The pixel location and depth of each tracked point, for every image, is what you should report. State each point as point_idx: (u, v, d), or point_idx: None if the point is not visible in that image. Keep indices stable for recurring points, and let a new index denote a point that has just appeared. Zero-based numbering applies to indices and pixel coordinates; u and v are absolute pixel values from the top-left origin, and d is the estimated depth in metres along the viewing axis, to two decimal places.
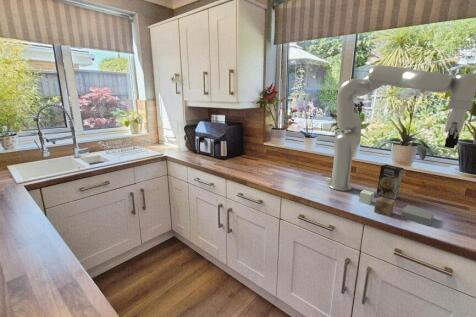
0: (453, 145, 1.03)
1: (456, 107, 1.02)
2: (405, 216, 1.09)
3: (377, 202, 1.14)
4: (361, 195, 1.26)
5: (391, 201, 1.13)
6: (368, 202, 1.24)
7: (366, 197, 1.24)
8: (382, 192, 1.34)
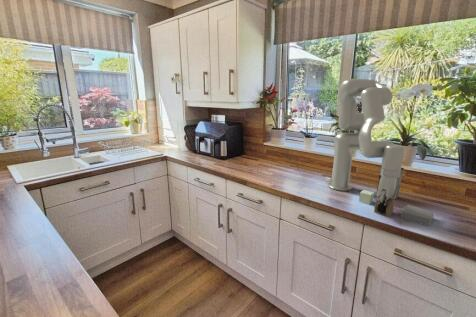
0: (384, 211, 1.12)
1: (385, 175, 1.09)
2: (405, 216, 1.09)
3: (377, 202, 1.14)
4: (361, 195, 1.26)
5: (391, 201, 1.13)
6: (368, 202, 1.24)
7: (366, 197, 1.24)
8: None
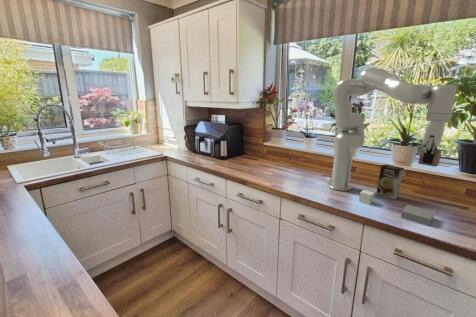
0: (431, 160, 1.01)
1: (433, 119, 0.98)
2: (405, 216, 1.09)
3: (422, 152, 1.03)
4: (361, 195, 1.26)
5: (438, 150, 1.02)
6: (368, 202, 1.24)
7: (366, 197, 1.24)
8: (382, 192, 1.34)
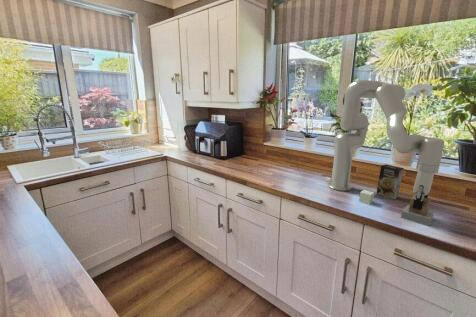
0: (420, 207, 1.05)
1: (423, 170, 1.03)
2: (405, 216, 1.09)
3: (412, 200, 1.08)
4: (361, 195, 1.26)
5: (427, 199, 1.08)
6: (368, 202, 1.24)
7: (366, 197, 1.24)
8: (382, 192, 1.34)
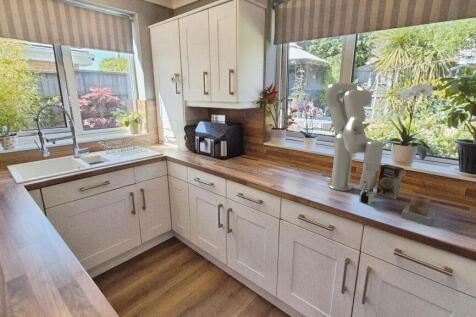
0: (366, 201, 1.24)
1: (367, 168, 1.21)
2: (405, 216, 1.09)
3: (412, 200, 1.08)
4: None
5: (427, 199, 1.08)
6: (368, 202, 1.24)
7: None
8: (382, 192, 1.34)
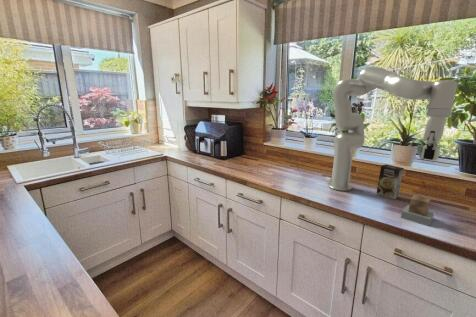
0: (432, 156, 1.01)
1: (434, 115, 0.98)
2: (405, 216, 1.09)
3: (412, 200, 1.08)
4: (424, 150, 1.03)
5: (427, 199, 1.08)
6: (434, 158, 1.01)
7: None
8: (382, 192, 1.34)
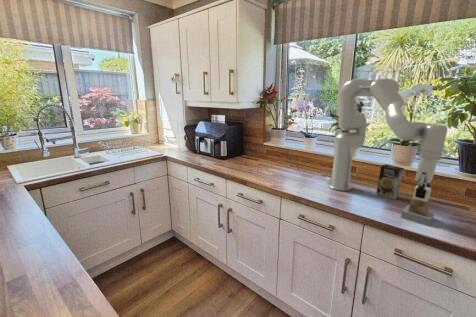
0: (423, 195, 1.04)
1: (426, 157, 1.02)
2: (405, 216, 1.09)
3: (412, 200, 1.08)
4: None
5: None
6: (425, 199, 1.05)
7: None
8: (382, 192, 1.34)
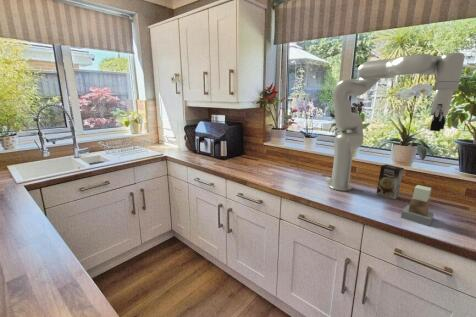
0: (439, 128, 1.00)
1: (441, 88, 0.98)
2: (405, 216, 1.09)
3: (412, 200, 1.08)
4: (416, 191, 1.07)
5: None
6: (425, 199, 1.05)
7: (423, 193, 1.06)
8: (382, 192, 1.34)
